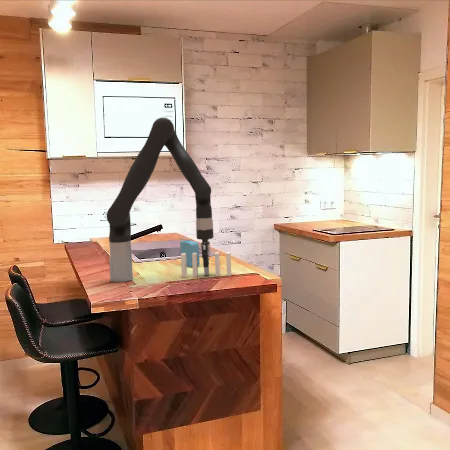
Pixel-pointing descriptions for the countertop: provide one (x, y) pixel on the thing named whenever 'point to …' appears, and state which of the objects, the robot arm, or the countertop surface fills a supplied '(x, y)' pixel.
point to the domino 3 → (206, 268)
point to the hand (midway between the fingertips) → (206, 265)
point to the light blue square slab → (189, 251)
